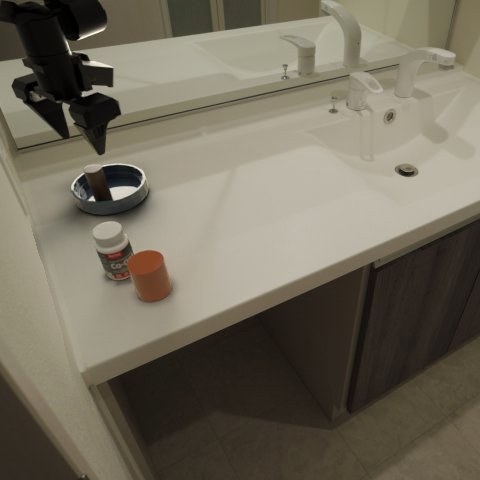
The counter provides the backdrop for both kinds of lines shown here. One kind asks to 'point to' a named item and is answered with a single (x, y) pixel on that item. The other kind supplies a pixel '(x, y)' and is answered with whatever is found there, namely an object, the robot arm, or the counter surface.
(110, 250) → the pill bottle
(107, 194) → the brown cylinder
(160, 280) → the orange cylinder cap
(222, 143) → the counter surface
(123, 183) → the bowl
